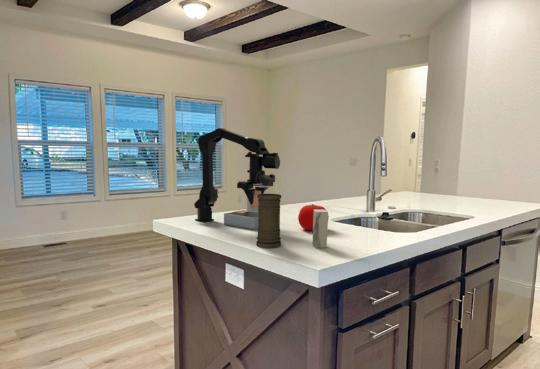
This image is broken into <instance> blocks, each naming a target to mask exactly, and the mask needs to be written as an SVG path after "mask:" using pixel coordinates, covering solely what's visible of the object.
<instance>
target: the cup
mask: <svg viewBox="0 0 540 369" xmlns="http://www.w3.org/2000/svg"><path fill="white" fill-rule="evenodd" d="M245 197H246V198H245V199H246V201H245V203H246V204H245V205H246V206H245V207H246V208H245V210H247V211H254V212H258V208H250V202H249V200H248V198H247V196H246V195H245Z"/></svg>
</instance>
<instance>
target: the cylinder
mask: <svg viewBox="0 0 540 369" xmlns="http://www.w3.org/2000/svg"><path fill="white" fill-rule="evenodd" d="M258 194H261V191H255V192H254V197H253V204H250V208H258V206H259V202H258V199H259V198H257V196H258Z"/></svg>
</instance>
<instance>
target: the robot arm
mask: <svg viewBox="0 0 540 369" xmlns="http://www.w3.org/2000/svg"><path fill="white" fill-rule="evenodd" d="M223 139H225V140H228V141H230V142H232V143H235V144H238V145H240V146H242V147H243V148H244V149H246V150H248V152H247V153H246V154H245V155H244V157H245V158H249V164H248V167H249V168H248V169H247V173H249V174H248V175H249V176H248V177H249V178H248V179H247V180H246V181H245V180H243V181H242V180H240V181H238V182H237V183H236V188H237V189H241V190H243V192H244V194H245V197H246V196H247V198H248V200H249V202H250V204H253V197H254V192H255V191H261V194H265V192H266V191H267V190H268V189H269V188H270V187H273V186H274V183H275V182H276V175H275V174H273V173H270V174H266V171H265V170H264V169H269V170H270V169H271V170H273V169H274V170H278V169H279V168H280V166H281V159H280V156H279V152H269V150H268V148H267V147H266V144H265V141H264V140H262V139H261V138H255V137H254V138H253V137H247V136H244V135H241V134H239V133H237V132H236V133H235V132H234V131H231V130H228V129H227V128H224V127H223V128H222V127H217V128H216V129H214V130H212V131H210V132H208V133H205V134H201V135H199V137H198V139H197V145H198V150H199V151H200V153H201V161H202V162H201V164H202V166H201V170H202V175H201V176H202V177H201V178H202V186H201V188H200V190H199V195H198V199H197V200H196V201H195V202H194V205H193V206H194V208H195V209H197V211H196V212H197V213H196V214H197V216H196V218H195V219H194V220H195V221H197V222H202V223H206V222H211V221H214V220H215V219H214V218H213V211H212V208H213V207H214V206H215V204H216V202H217V200H218V198H219V189H218V188H215V186H214V162H213V161H214V160H213V159H214V152H215V150H216V147H217V146H216V145H217V143H219V142H220V141H222V140H223Z"/></svg>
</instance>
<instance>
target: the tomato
mask: <svg viewBox="0 0 540 369" xmlns="http://www.w3.org/2000/svg"><path fill="white" fill-rule="evenodd" d="M300 208H301V209H300V210H299V211H298V212H299V213H298V217H297V221H298V223H299V226H301V228H302V229H304V230H307V231H312V232H313V216H314V209H318V210H326V211H327V212H328V210H327V209H326V208H325V207H324V206H321V205H317V204H312V203H311V204H307V205H304V206H302V207H300ZM329 218H330V217H329V215H328V219H329Z"/></svg>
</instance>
